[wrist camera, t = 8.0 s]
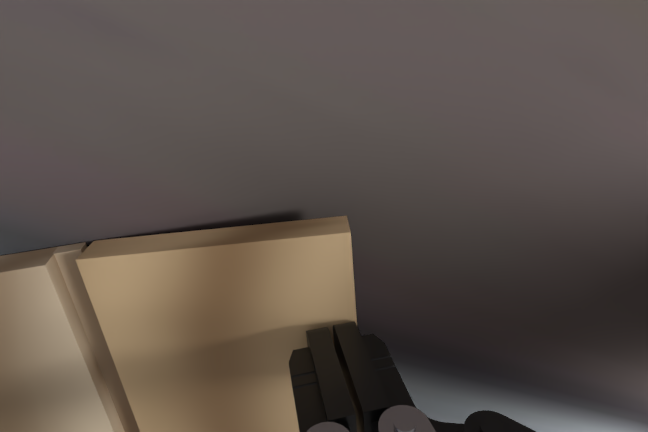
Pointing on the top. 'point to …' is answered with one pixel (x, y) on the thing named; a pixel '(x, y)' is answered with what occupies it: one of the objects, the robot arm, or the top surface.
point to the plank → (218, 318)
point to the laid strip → (55, 349)
